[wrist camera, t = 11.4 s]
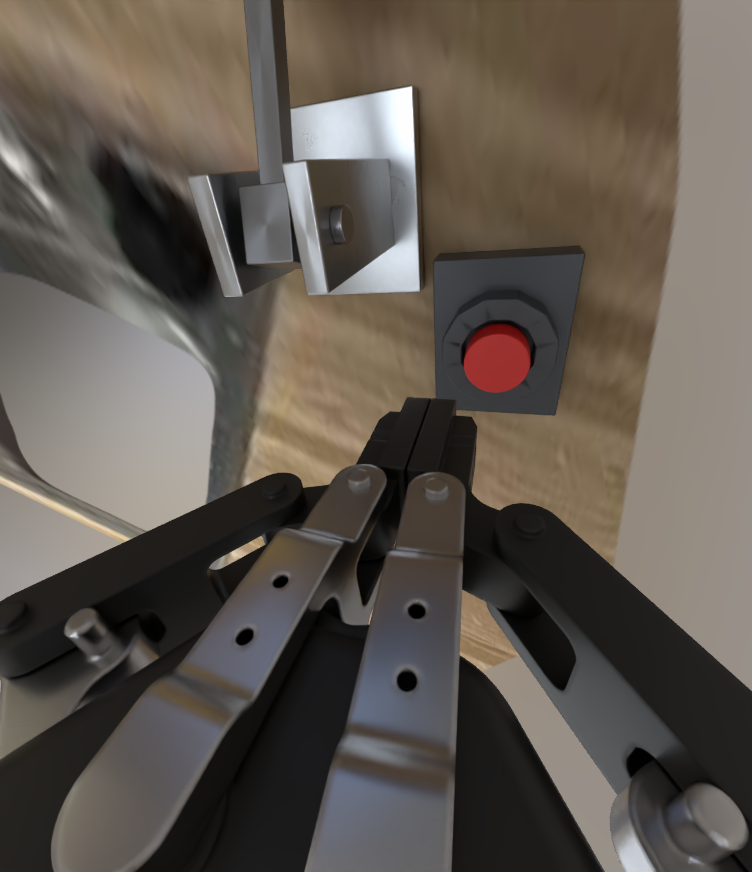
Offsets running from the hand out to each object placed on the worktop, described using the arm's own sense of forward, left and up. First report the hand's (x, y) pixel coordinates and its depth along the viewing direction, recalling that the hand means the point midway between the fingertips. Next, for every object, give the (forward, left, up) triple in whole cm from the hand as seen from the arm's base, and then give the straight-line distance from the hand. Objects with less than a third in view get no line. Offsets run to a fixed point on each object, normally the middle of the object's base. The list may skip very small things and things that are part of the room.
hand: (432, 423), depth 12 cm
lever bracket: (-5, -7, -16) cm, 18 cm away
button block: (+3, +2, -16) cm, 16 cm away
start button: (+3, +2, -12) cm, 13 cm away
